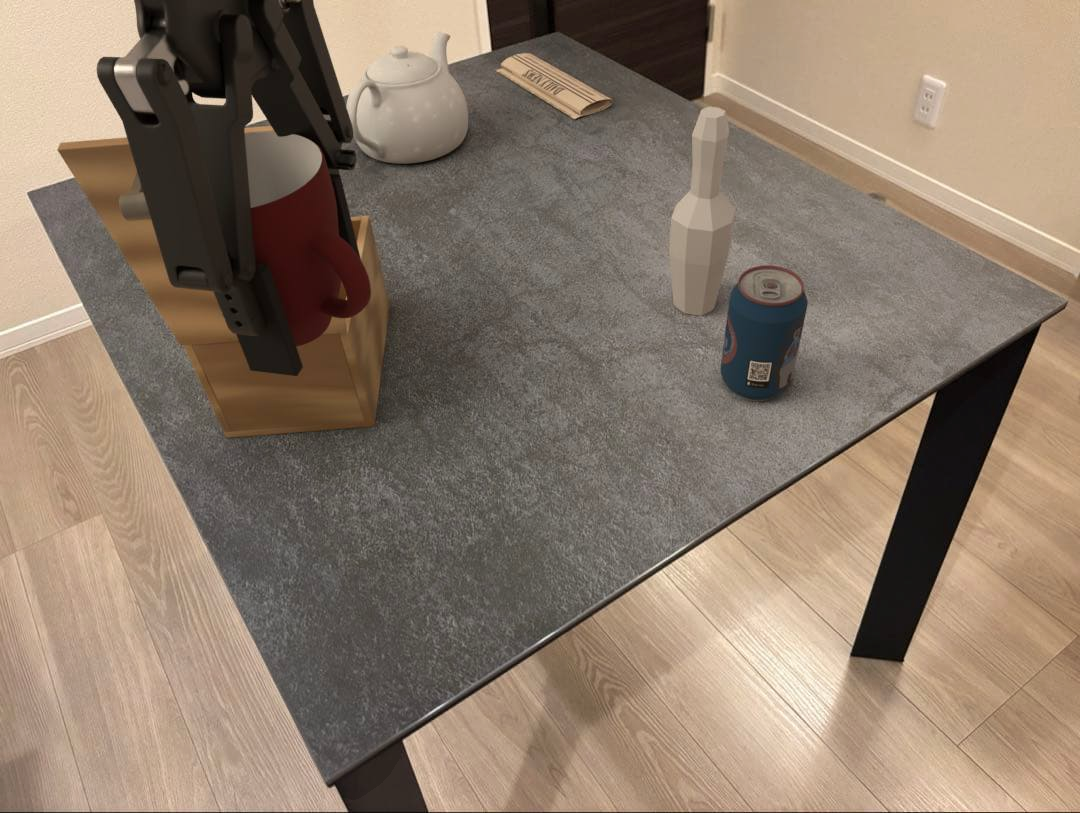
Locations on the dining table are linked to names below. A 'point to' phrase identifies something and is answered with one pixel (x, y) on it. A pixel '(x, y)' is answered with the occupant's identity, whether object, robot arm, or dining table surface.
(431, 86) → the teapot
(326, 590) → the dining table surface
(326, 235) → the mug
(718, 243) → the faceted bottle
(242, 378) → the chest
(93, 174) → the lid
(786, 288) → the soda can
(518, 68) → the newspaper
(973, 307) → the dining table surface
